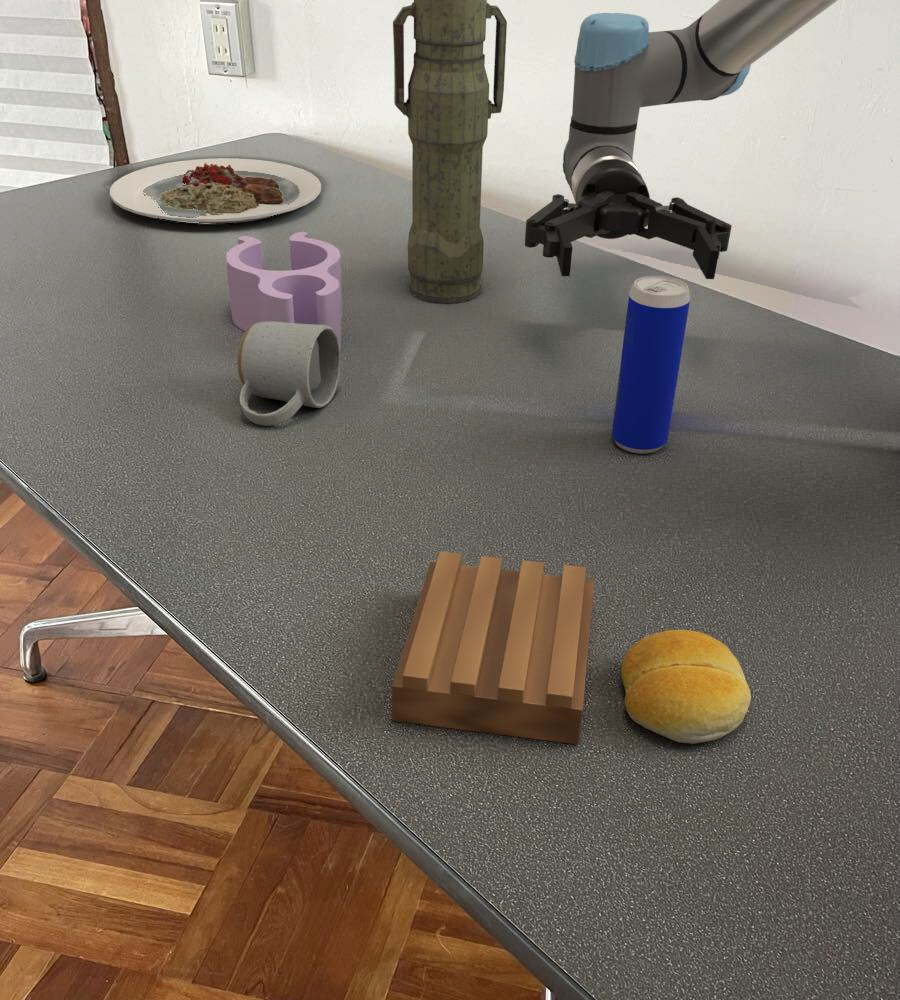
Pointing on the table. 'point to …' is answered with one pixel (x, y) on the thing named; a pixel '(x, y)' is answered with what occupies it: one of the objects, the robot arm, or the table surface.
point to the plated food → (216, 190)
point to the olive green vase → (447, 140)
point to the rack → (497, 650)
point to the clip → (286, 285)
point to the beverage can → (650, 363)
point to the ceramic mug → (288, 367)
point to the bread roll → (684, 686)
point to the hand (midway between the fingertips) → (640, 263)
